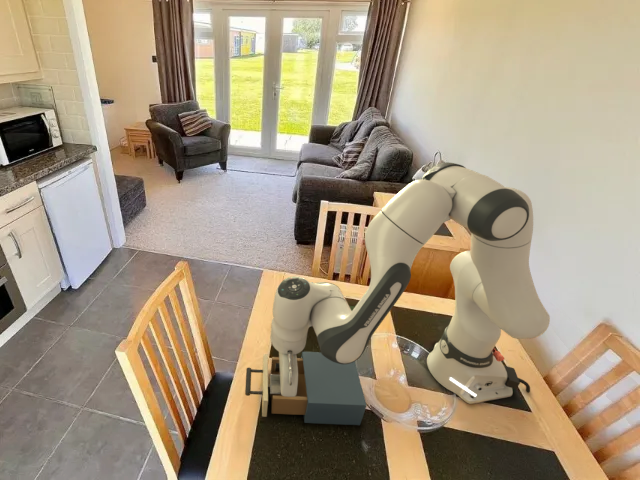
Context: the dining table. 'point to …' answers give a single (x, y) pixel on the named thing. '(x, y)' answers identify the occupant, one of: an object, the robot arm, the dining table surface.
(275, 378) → the metal tray
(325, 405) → the cabinet
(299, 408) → the drawer
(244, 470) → the dining table surface
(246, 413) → the dining table surface
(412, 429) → the dining table surface
